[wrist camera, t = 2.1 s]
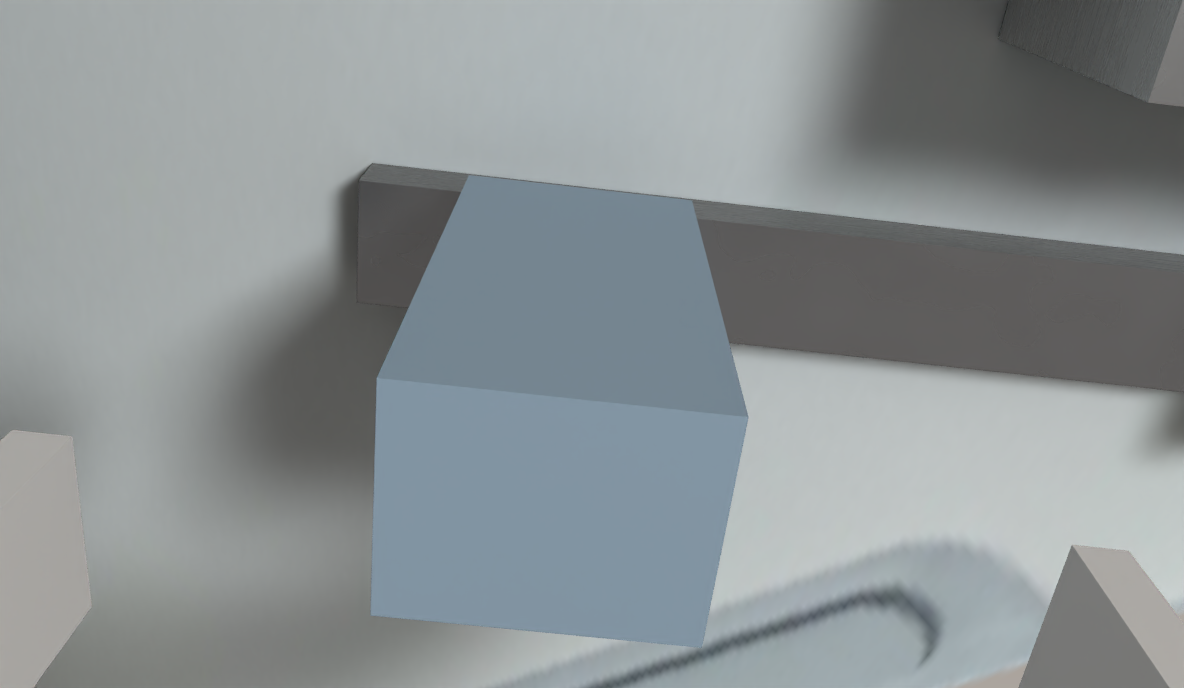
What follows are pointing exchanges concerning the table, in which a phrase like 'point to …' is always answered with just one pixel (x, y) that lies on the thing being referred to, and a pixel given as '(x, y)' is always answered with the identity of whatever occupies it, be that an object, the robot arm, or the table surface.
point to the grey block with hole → (1107, 42)
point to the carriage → (558, 421)
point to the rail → (865, 286)
